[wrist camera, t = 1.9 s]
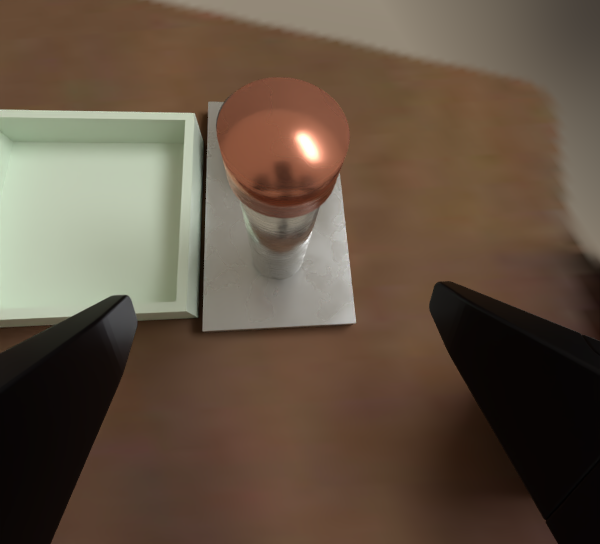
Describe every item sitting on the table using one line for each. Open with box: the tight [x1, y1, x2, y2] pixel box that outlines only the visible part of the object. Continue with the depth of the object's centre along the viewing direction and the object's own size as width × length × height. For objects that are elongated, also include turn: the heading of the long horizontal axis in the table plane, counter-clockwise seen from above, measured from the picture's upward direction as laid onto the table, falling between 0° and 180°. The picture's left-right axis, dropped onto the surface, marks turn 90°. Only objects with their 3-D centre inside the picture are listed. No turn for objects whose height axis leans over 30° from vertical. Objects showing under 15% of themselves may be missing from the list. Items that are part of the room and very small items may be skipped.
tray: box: [0, 110, 204, 327], centre depth 20 cm, size 14×14×3 cm
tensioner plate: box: [202, 92, 356, 332], centre depth 21 cm, size 18×10×5 cm, turn 3°
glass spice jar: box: [216, 77, 350, 280], centre depth 15 cm, size 4×4×12 cm
